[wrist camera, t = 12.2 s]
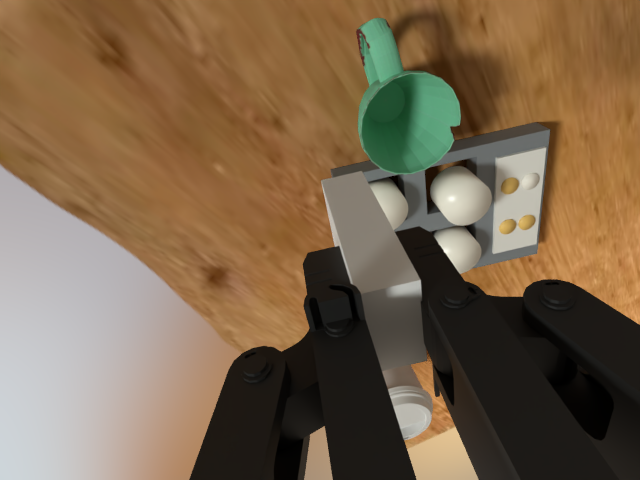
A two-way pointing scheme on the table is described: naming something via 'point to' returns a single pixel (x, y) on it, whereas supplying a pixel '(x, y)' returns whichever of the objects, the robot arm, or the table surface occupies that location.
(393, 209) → the button
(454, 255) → the button
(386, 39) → the mug
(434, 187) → the button
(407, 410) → the coffee cup
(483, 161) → the board
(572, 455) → the robot arm
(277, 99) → the table surface
